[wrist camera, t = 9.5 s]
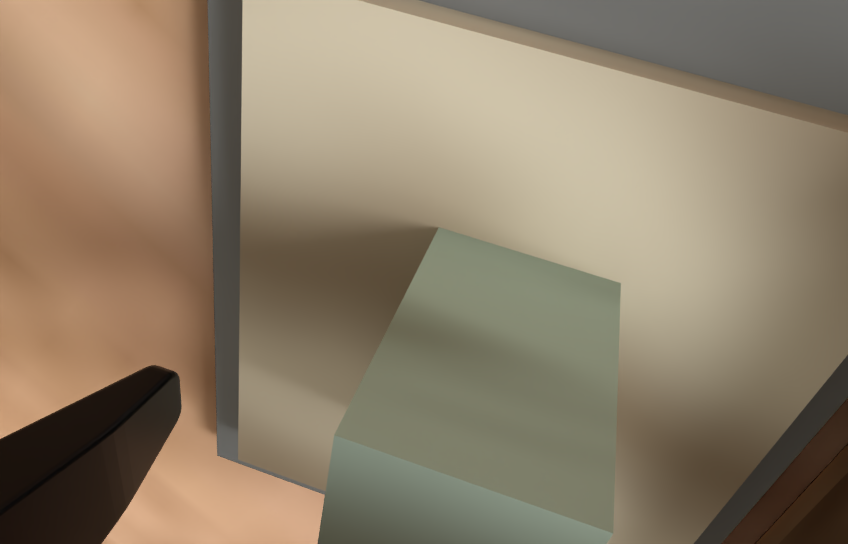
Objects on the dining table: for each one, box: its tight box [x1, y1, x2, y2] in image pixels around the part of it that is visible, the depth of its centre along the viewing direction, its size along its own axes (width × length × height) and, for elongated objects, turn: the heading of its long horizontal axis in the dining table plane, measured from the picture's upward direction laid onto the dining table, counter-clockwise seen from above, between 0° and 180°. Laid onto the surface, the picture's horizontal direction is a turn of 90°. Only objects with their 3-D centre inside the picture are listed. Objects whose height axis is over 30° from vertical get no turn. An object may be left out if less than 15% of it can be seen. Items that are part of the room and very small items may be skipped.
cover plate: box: [238, 0, 848, 544], centre depth 10 cm, size 11×10×5 cm
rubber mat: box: [208, 0, 848, 544], centre depth 12 cm, size 14×12×1 cm
